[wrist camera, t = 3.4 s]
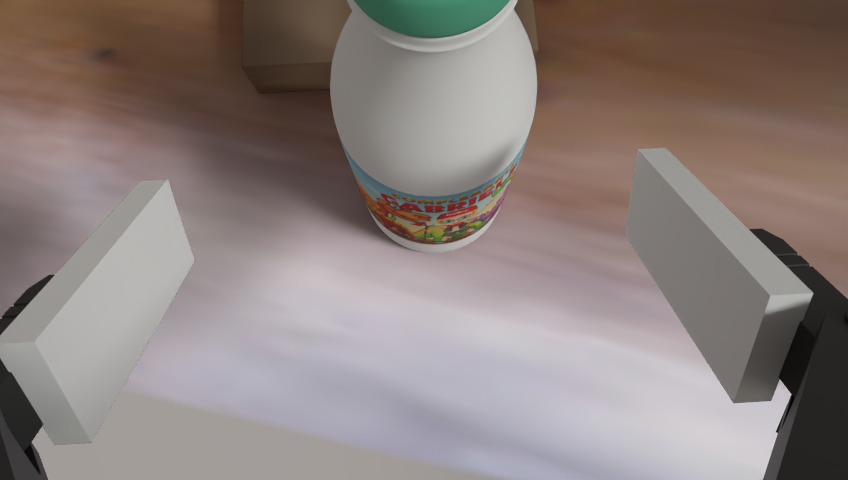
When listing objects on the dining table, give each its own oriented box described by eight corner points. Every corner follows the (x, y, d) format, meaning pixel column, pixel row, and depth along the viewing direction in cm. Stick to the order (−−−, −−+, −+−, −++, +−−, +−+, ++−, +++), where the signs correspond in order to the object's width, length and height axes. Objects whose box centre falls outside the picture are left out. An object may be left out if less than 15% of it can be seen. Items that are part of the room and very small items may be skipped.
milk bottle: (341, 164, 32) (196, -147, 13) (458, 102, 33) (492, -285, 13) (407, 281, 31) (358, 131, 11) (528, 212, 31) (684, -42, 12)
